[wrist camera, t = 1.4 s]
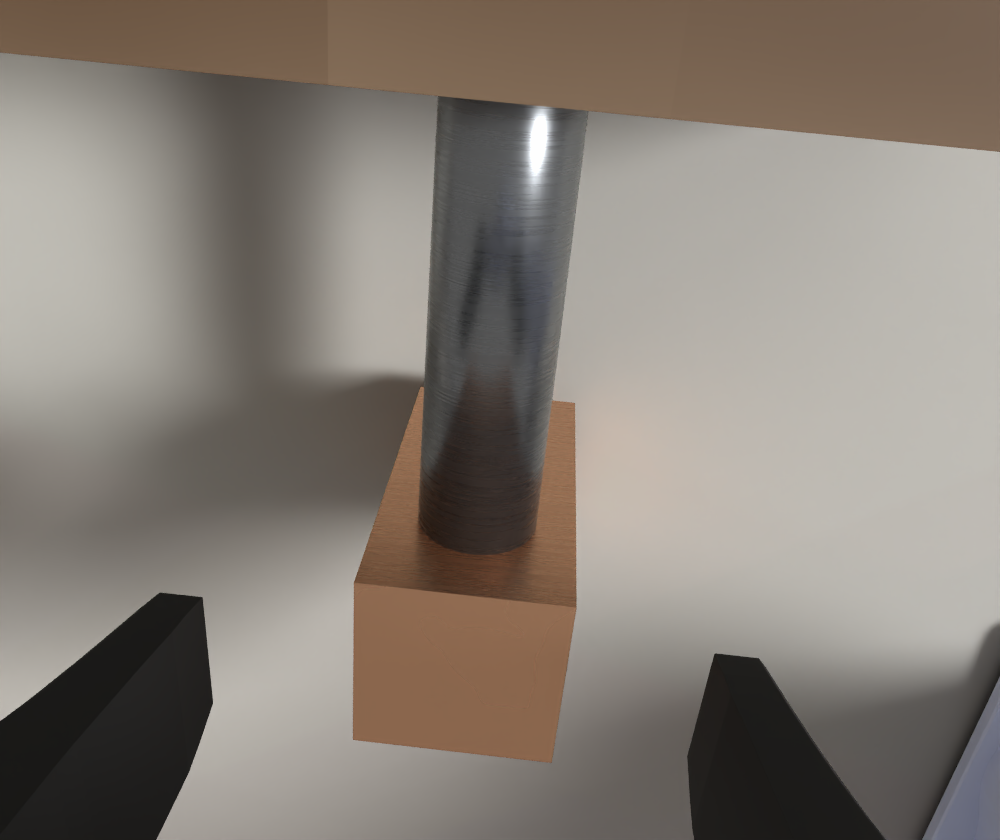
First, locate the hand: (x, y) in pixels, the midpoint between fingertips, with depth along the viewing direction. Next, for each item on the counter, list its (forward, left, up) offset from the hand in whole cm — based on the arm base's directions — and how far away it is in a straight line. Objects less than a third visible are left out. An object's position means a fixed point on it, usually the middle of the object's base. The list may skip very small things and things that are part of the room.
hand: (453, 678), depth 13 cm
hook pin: (+5, 0, -6) cm, 8 cm away
